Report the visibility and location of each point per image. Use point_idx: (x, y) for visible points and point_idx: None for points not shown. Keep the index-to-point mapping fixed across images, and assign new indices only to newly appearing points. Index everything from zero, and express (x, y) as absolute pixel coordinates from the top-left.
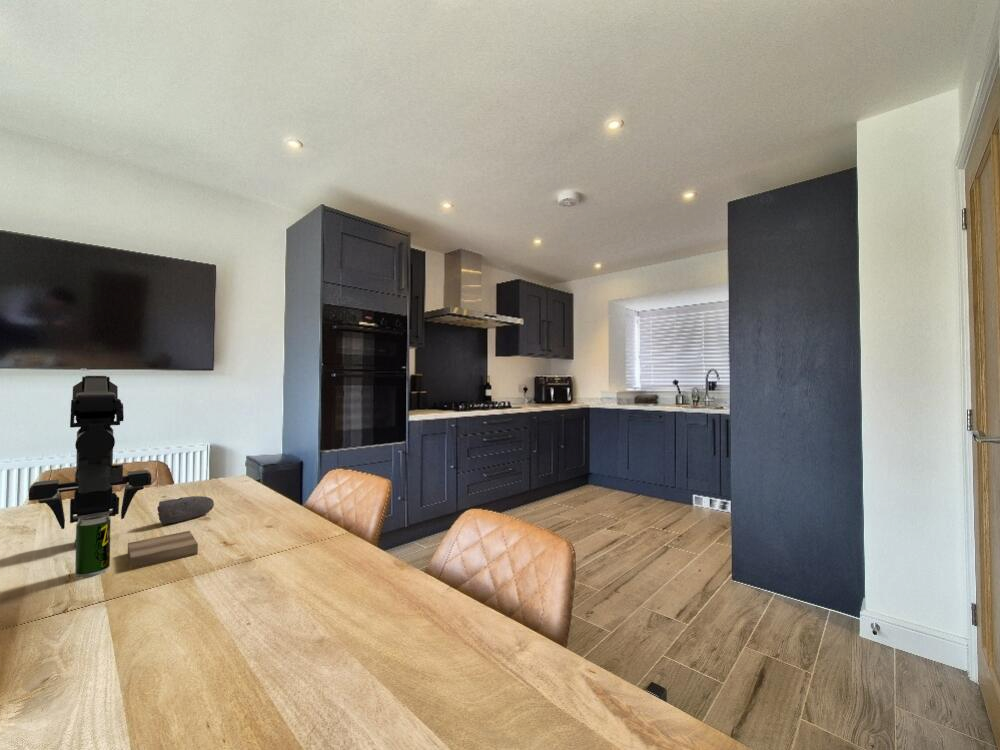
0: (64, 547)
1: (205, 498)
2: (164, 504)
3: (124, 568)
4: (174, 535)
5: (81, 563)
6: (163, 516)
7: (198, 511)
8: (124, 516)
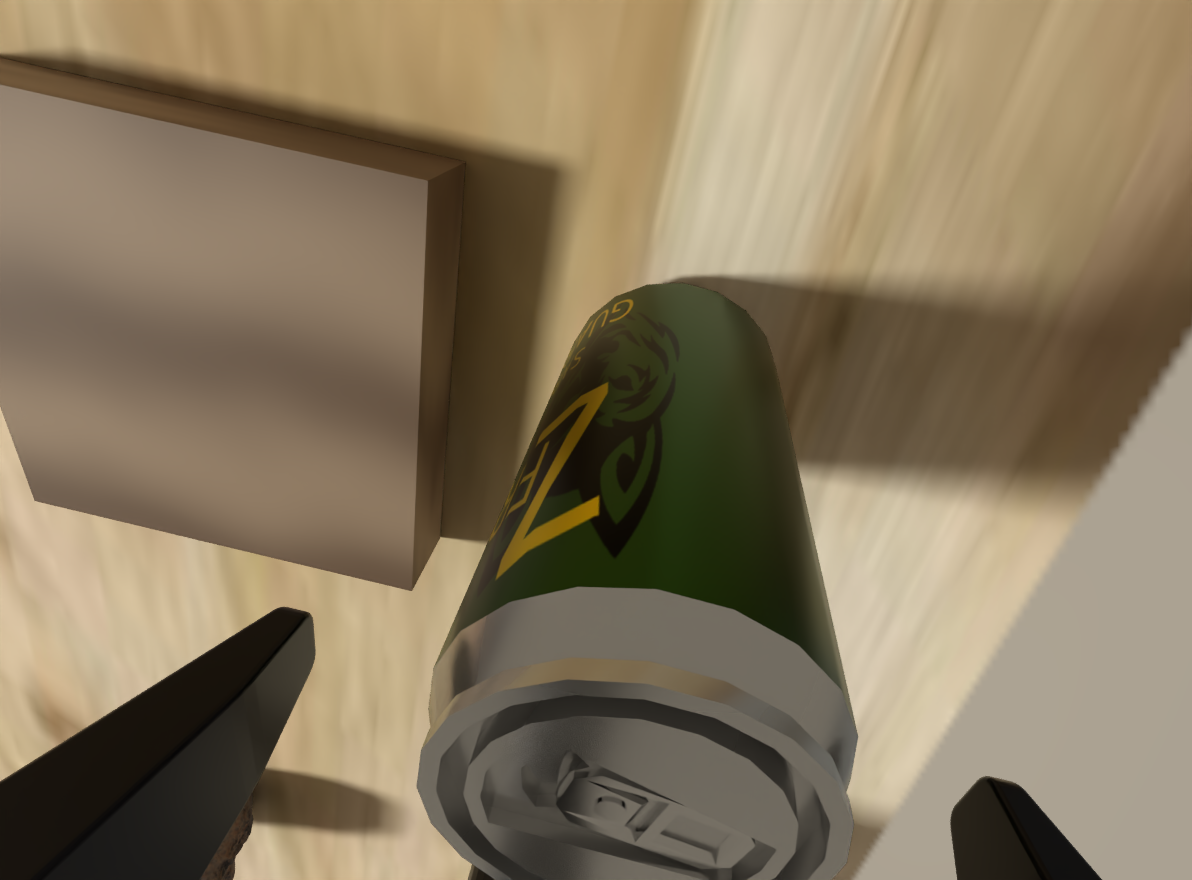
0: None
1: None
2: None
3: (498, 249)
4: (126, 486)
5: (767, 368)
6: None
7: None
8: (249, 625)
